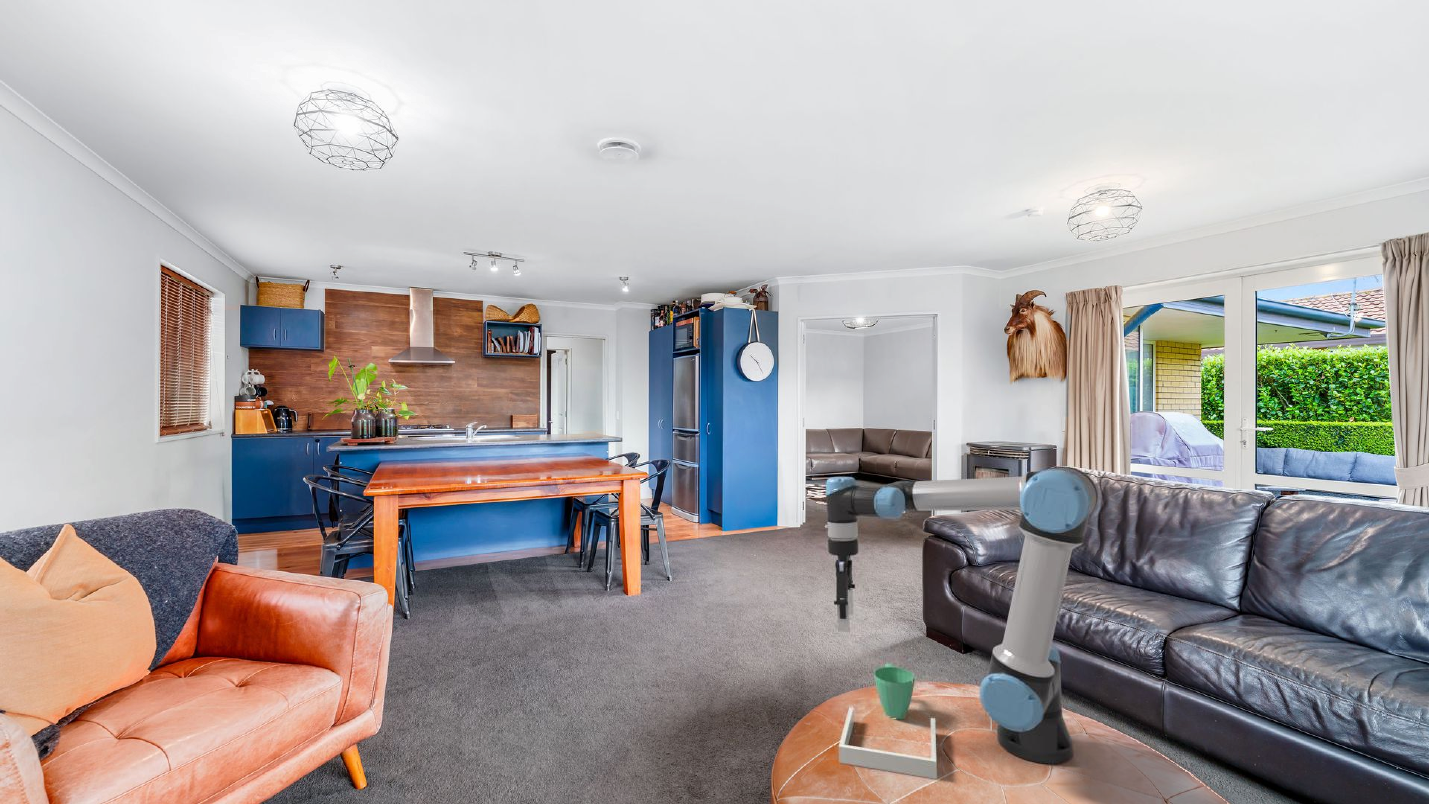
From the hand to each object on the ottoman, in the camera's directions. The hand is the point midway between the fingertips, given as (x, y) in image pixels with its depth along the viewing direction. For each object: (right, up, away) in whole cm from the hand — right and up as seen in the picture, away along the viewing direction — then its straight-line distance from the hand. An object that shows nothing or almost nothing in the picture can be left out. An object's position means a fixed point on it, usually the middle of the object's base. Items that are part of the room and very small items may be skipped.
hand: (846, 622), depth 150 cm
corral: (+7, -23, -15) cm, 28 cm away
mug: (+13, -24, +2) cm, 27 cm away
